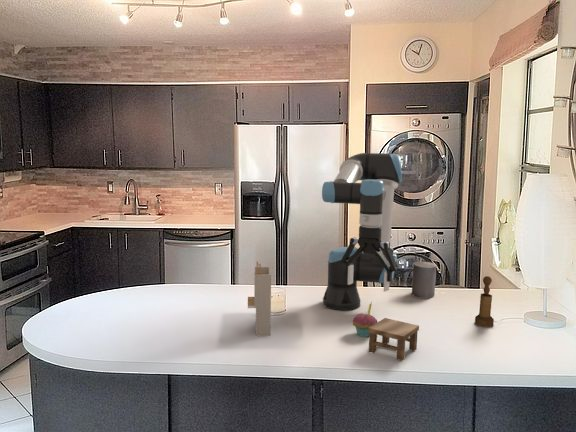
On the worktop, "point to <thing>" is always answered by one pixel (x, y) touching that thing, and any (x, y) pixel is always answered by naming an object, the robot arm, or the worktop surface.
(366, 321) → the cupcake
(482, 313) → the brown chess pawn
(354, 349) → the worktop surface
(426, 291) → the pillar candle
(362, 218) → the robot arm
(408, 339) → the walnut stool
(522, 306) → the worktop surface
